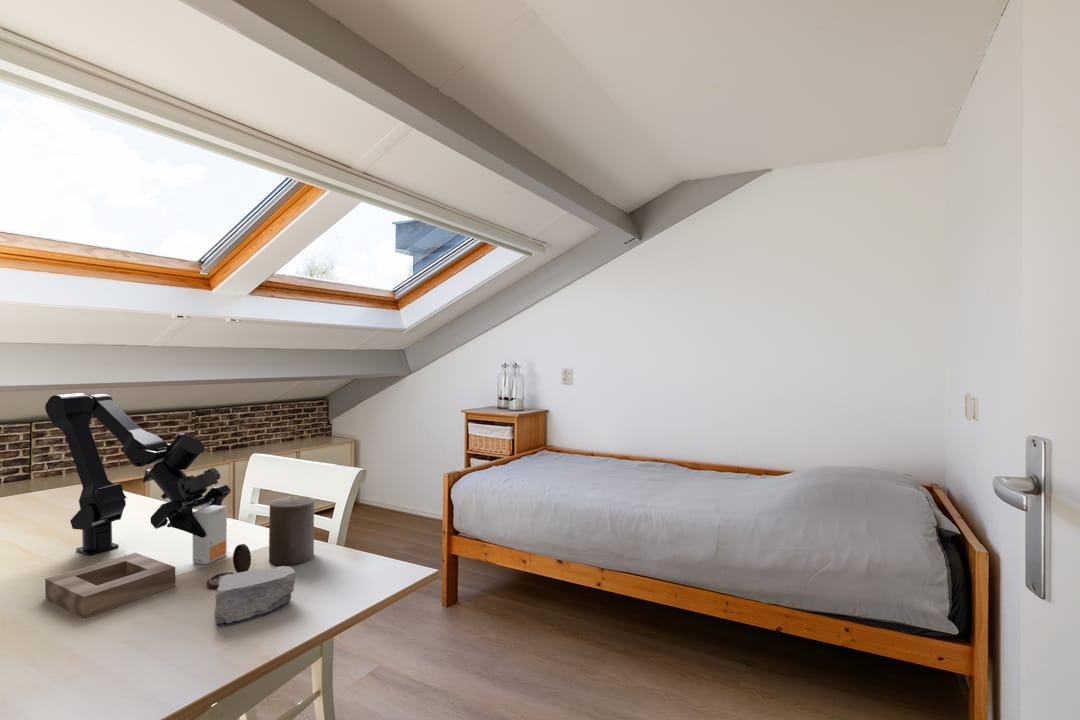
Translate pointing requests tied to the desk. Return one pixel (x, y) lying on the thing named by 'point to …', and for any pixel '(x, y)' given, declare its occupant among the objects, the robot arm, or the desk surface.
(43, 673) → the desk surface
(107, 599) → the holder block
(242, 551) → the dark brown curved piece
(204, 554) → the skincare box
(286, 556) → the pillar candle
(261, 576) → the decorative stone
